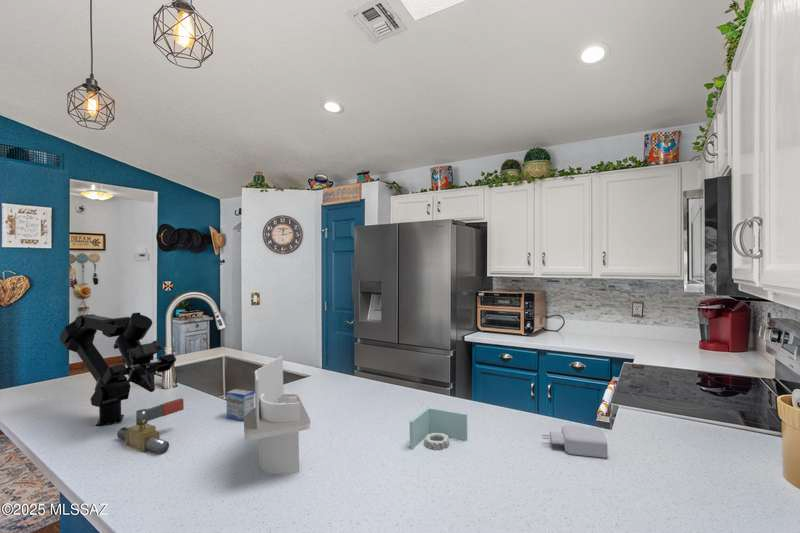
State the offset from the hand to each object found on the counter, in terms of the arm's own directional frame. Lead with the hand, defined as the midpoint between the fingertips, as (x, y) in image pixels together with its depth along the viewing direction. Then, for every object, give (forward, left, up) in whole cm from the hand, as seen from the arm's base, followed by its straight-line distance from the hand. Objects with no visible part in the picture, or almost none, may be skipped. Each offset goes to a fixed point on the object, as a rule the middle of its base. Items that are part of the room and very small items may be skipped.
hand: (152, 390), depth 117 cm
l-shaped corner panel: (+44, +72, -13) cm, 85 cm away
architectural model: (+32, +31, -13) cm, 46 cm away
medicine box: (-2, +24, -13) cm, 28 cm away
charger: (+63, +102, -13) cm, 120 cm away
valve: (+7, -2, -13) cm, 15 cm away
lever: (+4, +2, -7) cm, 8 cm away
